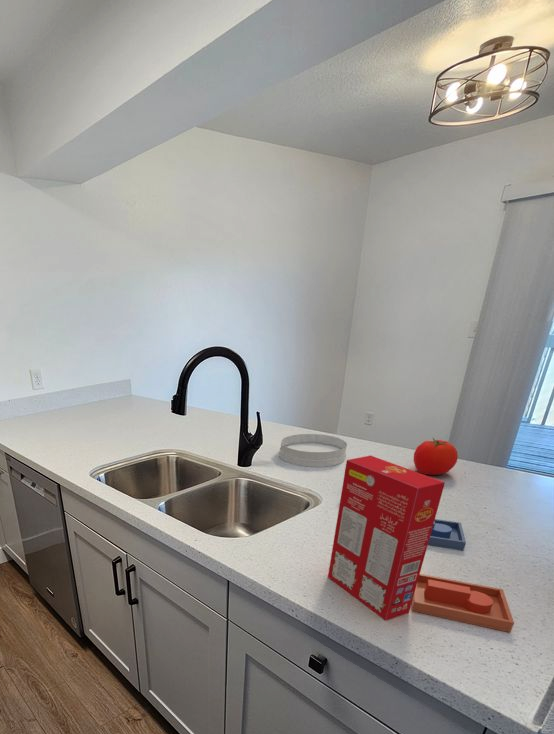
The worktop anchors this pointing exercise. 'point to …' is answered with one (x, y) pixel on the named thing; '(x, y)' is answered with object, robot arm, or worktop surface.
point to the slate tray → (455, 538)
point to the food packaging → (383, 533)
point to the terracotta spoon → (458, 596)
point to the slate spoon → (441, 530)
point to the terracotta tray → (494, 619)
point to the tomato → (435, 457)
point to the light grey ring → (313, 450)
